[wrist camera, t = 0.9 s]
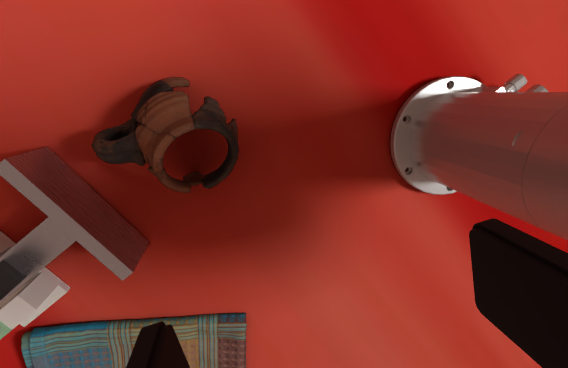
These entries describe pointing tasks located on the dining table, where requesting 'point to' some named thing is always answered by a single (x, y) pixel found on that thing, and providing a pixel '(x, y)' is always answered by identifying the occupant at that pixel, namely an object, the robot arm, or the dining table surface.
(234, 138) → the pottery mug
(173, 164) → the dining table surface
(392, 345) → the dining table surface
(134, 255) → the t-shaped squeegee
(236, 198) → the dining table surface
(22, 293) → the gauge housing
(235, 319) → the dish towel
